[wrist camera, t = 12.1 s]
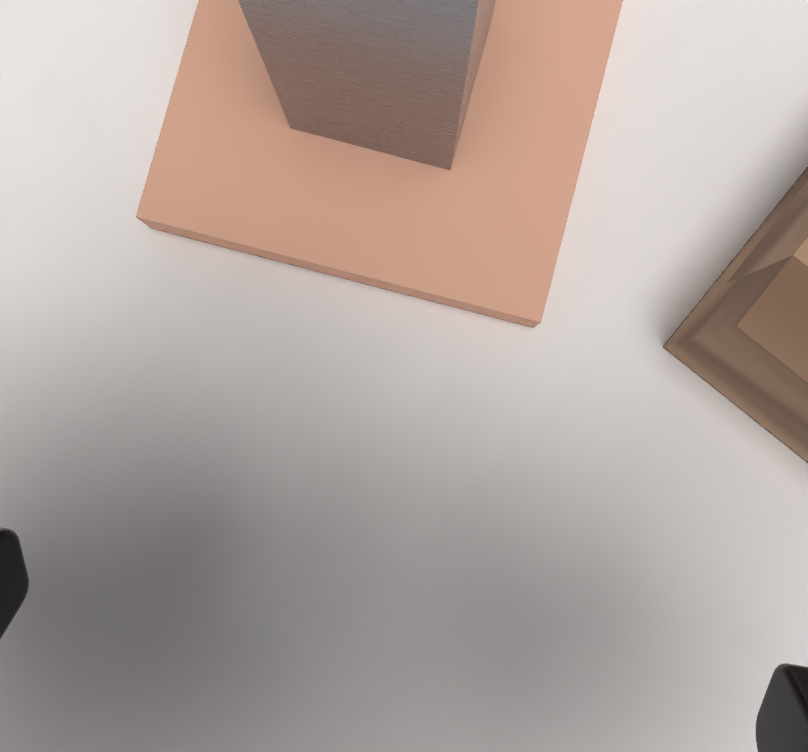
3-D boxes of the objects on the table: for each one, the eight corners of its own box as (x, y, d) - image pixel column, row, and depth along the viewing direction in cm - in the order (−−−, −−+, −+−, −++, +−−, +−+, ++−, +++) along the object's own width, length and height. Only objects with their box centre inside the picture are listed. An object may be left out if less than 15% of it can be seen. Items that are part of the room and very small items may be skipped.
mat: (533, 327, 18) (540, 322, 17) (151, 227, 18) (135, 216, 17) (628, -44, 18) (640, -71, 17) (256, -137, 19) (247, -168, 18)
